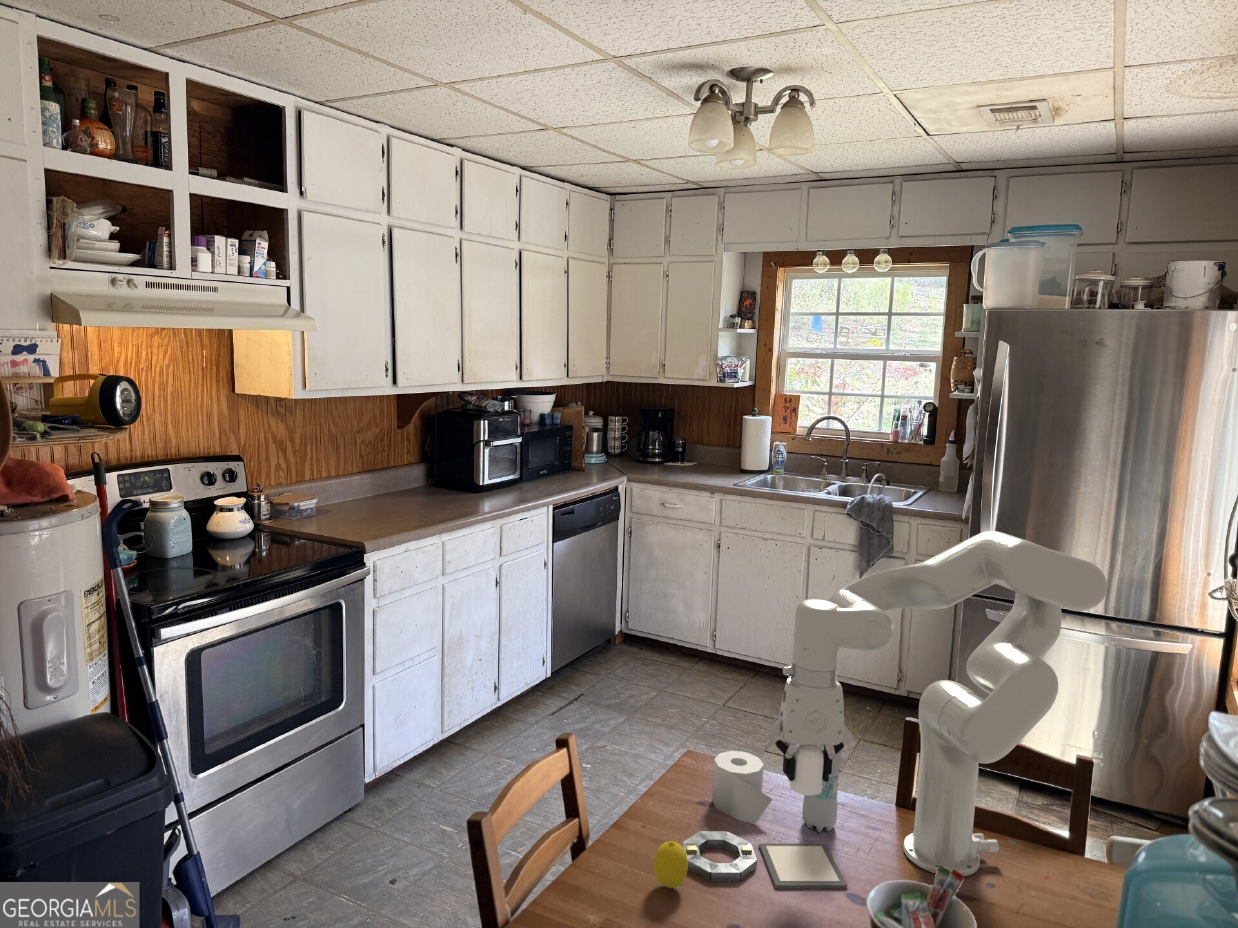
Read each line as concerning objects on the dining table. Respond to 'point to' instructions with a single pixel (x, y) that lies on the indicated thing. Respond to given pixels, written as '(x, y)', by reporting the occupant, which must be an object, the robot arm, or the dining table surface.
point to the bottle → (823, 800)
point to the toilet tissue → (739, 786)
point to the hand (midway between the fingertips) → (806, 776)
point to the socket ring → (720, 870)
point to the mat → (802, 866)
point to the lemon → (670, 864)
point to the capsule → (808, 770)
